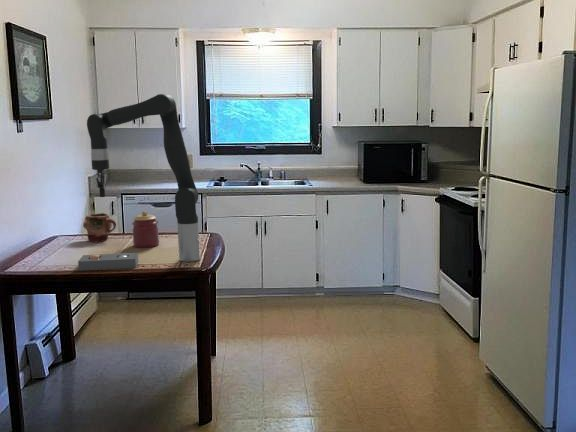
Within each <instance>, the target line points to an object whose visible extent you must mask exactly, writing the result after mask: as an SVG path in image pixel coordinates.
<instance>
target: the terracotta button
mask: <svg viewBox="0 0 576 432" xmlns="http://www.w3.org/2000/svg"><path fill="white" fill-rule="evenodd" d="M90 255H91V256H90V259H100V257H99V255H98V254H90Z"/></svg>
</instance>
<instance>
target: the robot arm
mask: <svg viewBox="0 0 576 432" xmlns="http://www.w3.org/2000/svg"><path fill="white" fill-rule="evenodd" d="M149 116H159V117H160V120H161V123H162V126H163V128H162V129H163V149H164V153H165V156H166V160H167V163H168V165H169V167H170V169H171V171H172V172H173V174H174V176H175V179H176V184H177V188H178V189H177V191H176V193H175V196H174V207H175V208H174V209H175V217H176V220H177V237H178V238H177V239H178V258H179V259H178V260H179V261H180V262H186V263H187V262H197V261H200V260H201V258H200V237H199V235H200V234H199V217H198V215H197V208H196V207H197V206H196V204H197V202H198V201H199V192H198V189H197V187H196V183H195V181H194V178H193V175H192V172H191V171H192V170H191V166H190V161H189V157H188V152H187V147H186V145H185V141H184V137H183V134H182V130H181V126H180V123H179V118H178V112H177V103H176V101H175V99H174V98H173V96H172V95H170V94H165V93H159V94H156V95H155V96H152V97H150V98H148V99H146V100H143V101H140V102H137V103H134V104H130V105H127V106H126V105H125V106H121V107H117V108H115V109H110V110H109V111H107V112H106V111H105V112H104V113H92V114H90V115H89V116H88V117H87V120H86V128H87V131H88V136H89V138H90V149H91V150H90V156H91V157H90V159H91V160H90V162H91V169H92V171H96V172H97V173H96V174H95V178H96V183H97V189H99V197H100V198H105V197H106V186H107V173H106V171H105V170H109V169H110V158H109V151H108V150H109V149H108V139H107V137H106V135H104V131H103V130H105V129H109V128H111V127H114V126H120V125H122V124H123V125H124V124H127V123H130V122H133V121H135V120H138V119H141V118H144V117H149Z"/></svg>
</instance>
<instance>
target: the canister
mask: <svg viewBox="0 0 576 432" xmlns="http://www.w3.org/2000/svg"><path fill="white" fill-rule="evenodd" d="M158 223H159V221H158V220H157V216H155V215H153V214H149V213H148V212H147V211H146V210H143V211H142V212H141V214H138V215H136V216H134V217H133V221H132V222H131V225H132V230H131V231H132V239H133V240H132V243H133V247H135V248H142V249H143V248H154V247H157V246H159V244H160V237H159V227H158Z"/></svg>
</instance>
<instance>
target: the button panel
mask: <svg viewBox="0 0 576 432" xmlns="http://www.w3.org/2000/svg"><path fill="white" fill-rule="evenodd" d="M91 255H92V254H83V255H82V256H81V257H80V258H79V260H78V261H77V265H78V271H97V270H98V271H99V270H117V269H133V268H134V269H135V268H137V266H138V263H139V252H126V253H125V252H124V253H121V252H120V253H119V252H118V253H105V254H104V253H103V254H97V255H99V257H100V259H90V256H91ZM121 255H127V257H123V258H118V256H121Z"/></svg>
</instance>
